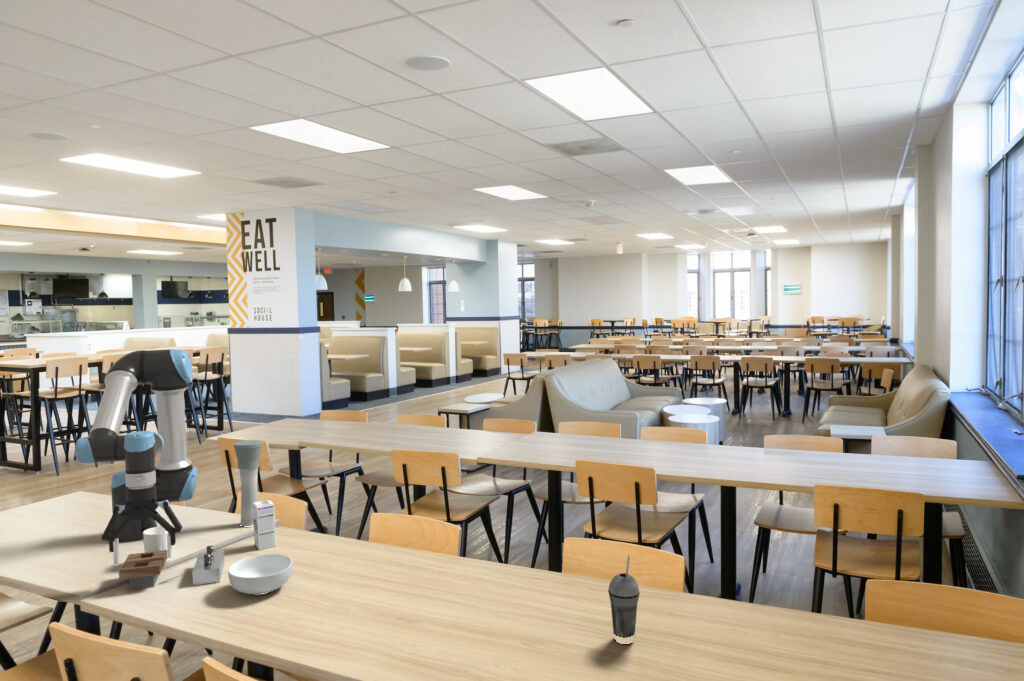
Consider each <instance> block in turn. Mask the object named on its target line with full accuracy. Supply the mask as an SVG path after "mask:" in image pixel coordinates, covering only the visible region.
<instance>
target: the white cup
mask: <svg viewBox="0 0 1024 681" xmlns="http://www.w3.org/2000/svg"><path fill="white" fill-rule="evenodd" d="M167 535H168V532H167V531H166V530H165V529H164V528H163V527H162V526H161V525H160V526H157V527H153V528H150V529H147V530H145V531H144V532H143V538H144V539H143V548H144V553H146V552H154V551H163V550H167V560H166V562H167V561H169V560H170V559H171V560H172V557H171V558H168V549H167ZM171 560H170V561H171ZM170 561H169V562H170ZM167 563H168V562H167Z"/></svg>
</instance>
